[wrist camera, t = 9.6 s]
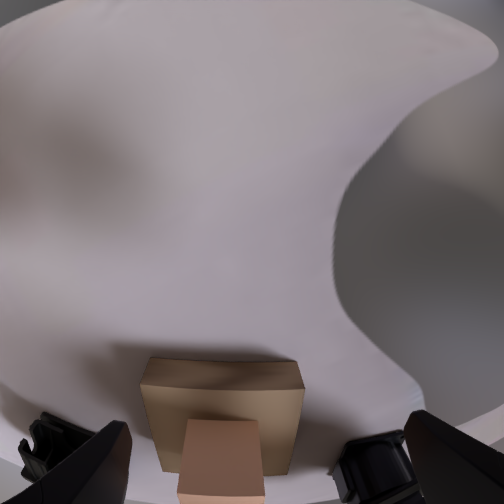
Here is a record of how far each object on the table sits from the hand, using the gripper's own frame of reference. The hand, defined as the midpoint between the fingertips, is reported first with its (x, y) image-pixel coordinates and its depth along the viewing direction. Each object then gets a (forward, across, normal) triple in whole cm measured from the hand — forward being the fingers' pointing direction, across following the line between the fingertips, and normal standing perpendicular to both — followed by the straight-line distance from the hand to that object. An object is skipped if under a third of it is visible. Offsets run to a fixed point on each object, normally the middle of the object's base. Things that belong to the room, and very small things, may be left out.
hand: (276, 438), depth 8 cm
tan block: (+11, +2, +10) cm, 15 cm away
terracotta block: (+8, +2, +10) cm, 13 cm away
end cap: (+11, +16, +18) cm, 27 cm away
